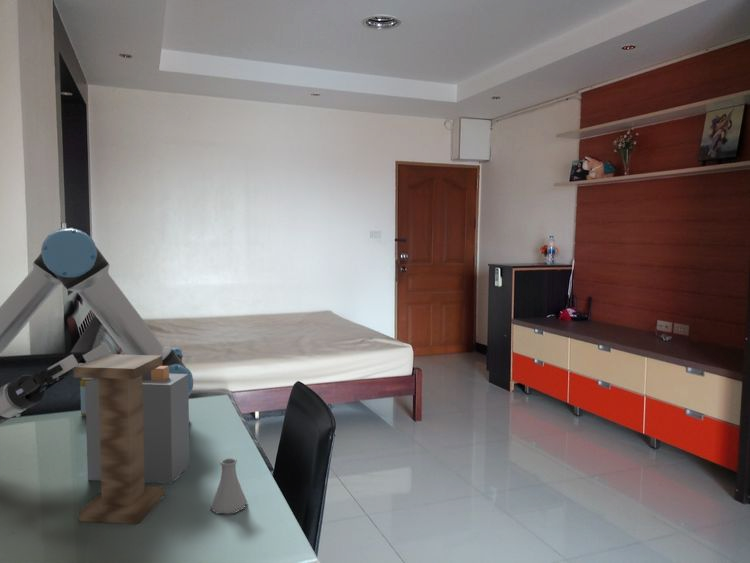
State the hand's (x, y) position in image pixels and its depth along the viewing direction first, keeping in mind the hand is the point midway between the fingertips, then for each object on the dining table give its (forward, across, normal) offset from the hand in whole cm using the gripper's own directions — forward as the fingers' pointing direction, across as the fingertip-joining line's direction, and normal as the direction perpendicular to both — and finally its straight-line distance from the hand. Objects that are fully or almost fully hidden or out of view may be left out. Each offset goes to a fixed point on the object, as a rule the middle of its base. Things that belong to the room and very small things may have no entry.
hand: (92, 353), depth 131 cm
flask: (+18, +15, -44) cm, 50 cm away
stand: (-1, +17, -33) cm, 37 cm away
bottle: (-36, -41, -13) cm, 55 cm away
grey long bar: (+3, 0, -8) cm, 9 cm away
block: (-5, 0, -30) cm, 31 cm away
